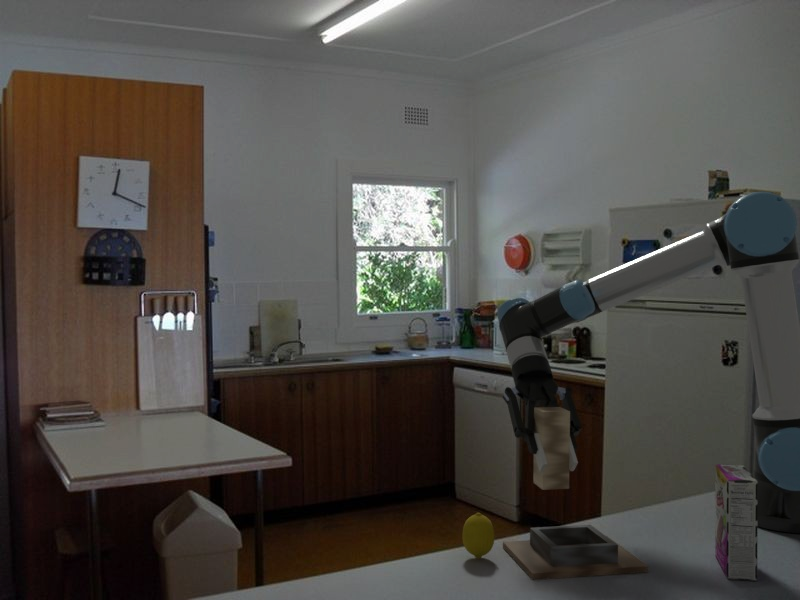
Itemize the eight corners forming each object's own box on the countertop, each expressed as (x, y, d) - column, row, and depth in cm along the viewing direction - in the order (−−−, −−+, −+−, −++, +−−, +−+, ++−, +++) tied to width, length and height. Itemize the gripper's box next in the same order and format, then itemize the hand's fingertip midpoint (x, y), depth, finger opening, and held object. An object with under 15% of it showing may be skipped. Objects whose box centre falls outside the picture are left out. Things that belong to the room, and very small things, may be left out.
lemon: (500, 558, 141) (501, 512, 141) (481, 566, 137) (481, 519, 137) (475, 551, 145) (475, 506, 144) (455, 558, 141) (455, 512, 140)
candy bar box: (712, 556, 142) (714, 463, 142) (743, 558, 141) (744, 464, 141) (725, 580, 131) (726, 478, 131) (758, 582, 130) (759, 480, 130)
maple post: (559, 481, 152) (559, 406, 151) (569, 488, 147) (570, 411, 146) (533, 482, 151) (534, 407, 150) (542, 489, 146) (543, 412, 146)
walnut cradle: (607, 541, 150) (607, 519, 150) (648, 572, 134) (648, 548, 134) (502, 547, 147) (503, 525, 147) (532, 579, 131) (532, 554, 131)
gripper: (567, 376, 165) (600, 476, 149) (481, 377, 162) (505, 480, 146) (578, 352, 159) (613, 454, 144) (489, 353, 156) (514, 457, 141)
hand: (558, 467), depth 145 cm, fingers closed on maple post, 5 cm apart
